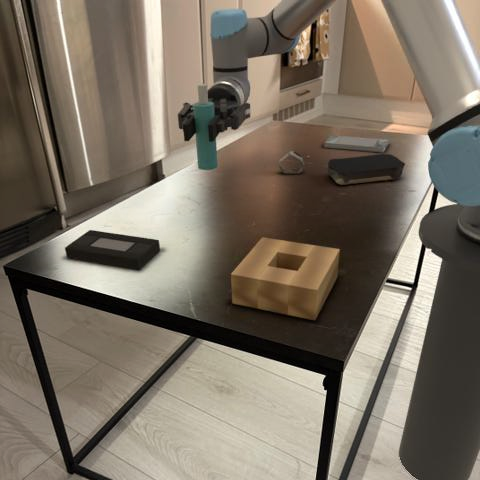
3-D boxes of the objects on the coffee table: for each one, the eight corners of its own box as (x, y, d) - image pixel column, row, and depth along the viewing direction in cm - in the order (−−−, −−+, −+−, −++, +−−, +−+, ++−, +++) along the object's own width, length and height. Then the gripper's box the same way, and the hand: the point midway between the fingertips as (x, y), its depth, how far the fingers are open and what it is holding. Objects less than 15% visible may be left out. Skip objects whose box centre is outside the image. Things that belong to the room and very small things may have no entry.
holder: (337, 277, 79) (339, 249, 76) (315, 320, 70) (317, 289, 67) (262, 264, 83) (262, 237, 81) (232, 303, 74) (230, 273, 71)
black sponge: (388, 168, 121) (390, 153, 118) (404, 180, 114) (407, 163, 112) (323, 175, 118) (324, 159, 116) (336, 187, 111) (337, 171, 109)
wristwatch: (304, 174, 119) (305, 153, 116) (278, 175, 119) (279, 154, 116) (302, 169, 122) (303, 148, 119) (277, 170, 122) (277, 150, 119)
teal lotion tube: (220, 164, 94) (215, 83, 86) (213, 170, 91) (208, 87, 83) (202, 163, 95) (196, 82, 87) (195, 169, 92) (188, 86, 84)
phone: (383, 152, 131) (384, 147, 130) (323, 147, 136) (323, 142, 135) (388, 144, 137) (389, 139, 136) (330, 139, 142) (331, 134, 141)
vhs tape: (91, 239, 93) (89, 229, 92) (160, 250, 89) (159, 240, 88) (67, 258, 87) (64, 247, 86) (139, 270, 83) (137, 259, 82)
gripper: (263, 121, 104) (247, 156, 85) (185, 121, 107) (153, 154, 88) (263, 82, 100) (246, 109, 81) (182, 82, 102) (147, 109, 83)
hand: (198, 133), depth 84 cm, fingers closed on teal lotion tube, 4 cm apart
